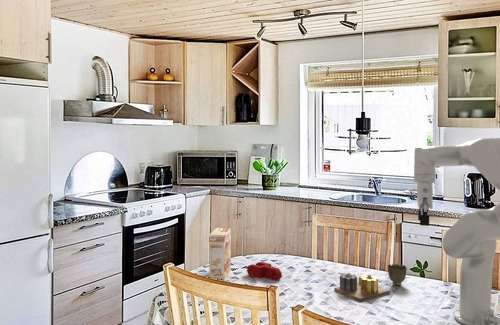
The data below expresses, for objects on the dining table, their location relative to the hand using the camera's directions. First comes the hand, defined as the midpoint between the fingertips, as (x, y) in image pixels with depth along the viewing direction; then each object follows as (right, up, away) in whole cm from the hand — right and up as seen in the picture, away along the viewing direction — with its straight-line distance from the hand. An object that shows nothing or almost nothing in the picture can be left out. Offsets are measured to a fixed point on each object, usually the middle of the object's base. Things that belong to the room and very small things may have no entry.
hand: (423, 222), depth 181 cm
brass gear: (-20, -27, +4) cm, 34 cm away
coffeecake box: (-79, -27, +29) cm, 89 cm away
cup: (-6, -28, +14) cm, 31 cm away
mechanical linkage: (-59, -27, +26) cm, 70 cm away
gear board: (-22, -28, +6) cm, 36 cm away
